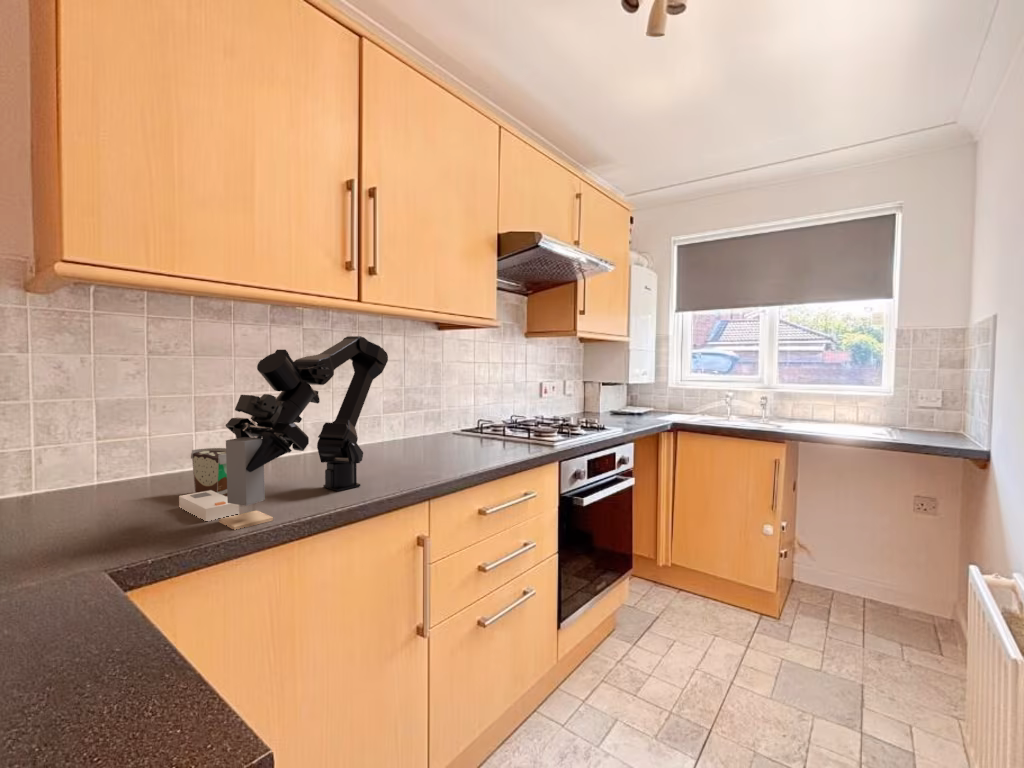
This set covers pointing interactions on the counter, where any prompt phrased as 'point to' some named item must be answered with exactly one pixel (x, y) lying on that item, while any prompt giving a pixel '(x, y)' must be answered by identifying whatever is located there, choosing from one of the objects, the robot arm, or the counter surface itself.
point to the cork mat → (245, 519)
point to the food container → (210, 470)
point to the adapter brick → (243, 472)
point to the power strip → (208, 505)
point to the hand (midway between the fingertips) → (238, 469)
